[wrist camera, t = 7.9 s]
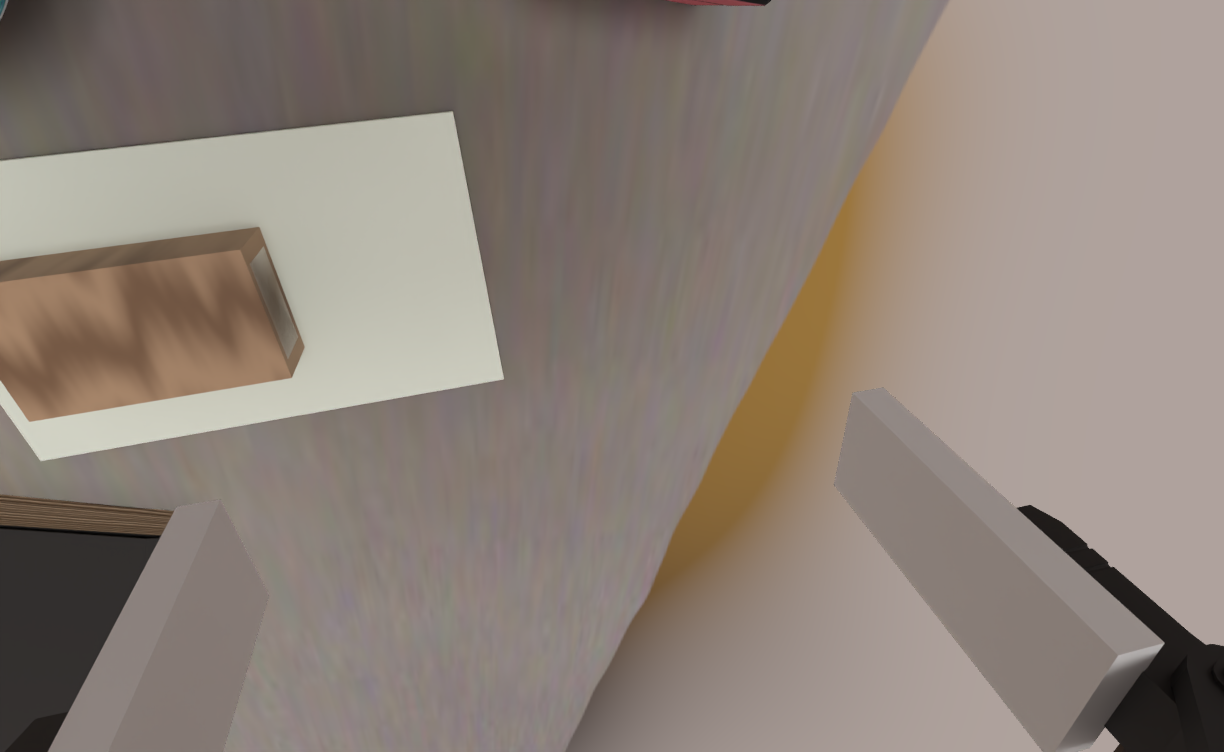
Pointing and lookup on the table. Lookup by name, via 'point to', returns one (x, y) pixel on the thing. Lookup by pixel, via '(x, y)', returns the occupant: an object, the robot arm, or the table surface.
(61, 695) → the file folder
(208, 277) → the walnut block
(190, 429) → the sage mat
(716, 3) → the puzzle cube
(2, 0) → the chinaware
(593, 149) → the table surface
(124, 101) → the table surface
